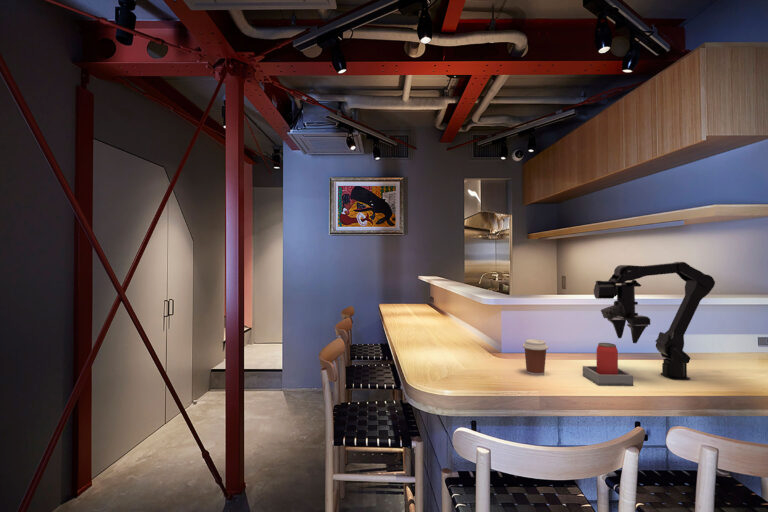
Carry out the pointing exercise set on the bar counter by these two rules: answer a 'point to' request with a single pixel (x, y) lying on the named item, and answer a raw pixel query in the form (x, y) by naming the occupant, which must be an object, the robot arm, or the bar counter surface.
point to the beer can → (607, 359)
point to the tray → (608, 377)
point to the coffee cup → (535, 356)
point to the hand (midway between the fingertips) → (627, 340)
